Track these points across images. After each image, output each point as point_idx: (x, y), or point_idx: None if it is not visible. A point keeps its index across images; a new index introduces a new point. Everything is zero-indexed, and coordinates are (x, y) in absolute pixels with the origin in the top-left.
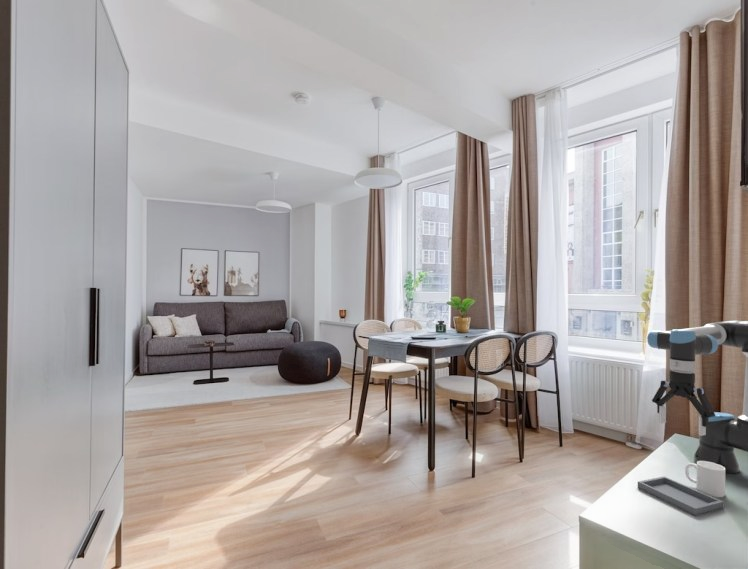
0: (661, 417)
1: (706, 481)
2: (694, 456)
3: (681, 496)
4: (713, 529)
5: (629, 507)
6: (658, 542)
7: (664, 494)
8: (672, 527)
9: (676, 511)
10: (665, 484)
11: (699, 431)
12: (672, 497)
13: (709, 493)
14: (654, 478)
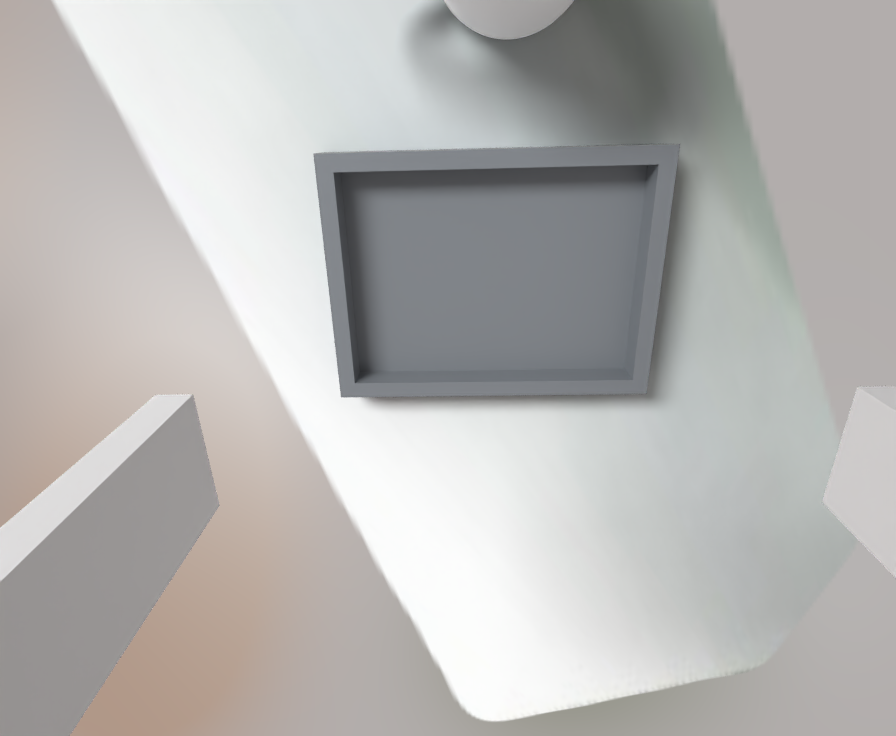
0: (167, 581)
1: (534, 21)
2: None
3: (497, 259)
4: (726, 413)
5: (477, 563)
6: (667, 655)
7: (490, 394)
8: (638, 544)
9: (572, 417)
10: (361, 196)
11: (881, 545)
12: (529, 390)
13: (541, 29)
14: (327, 259)
